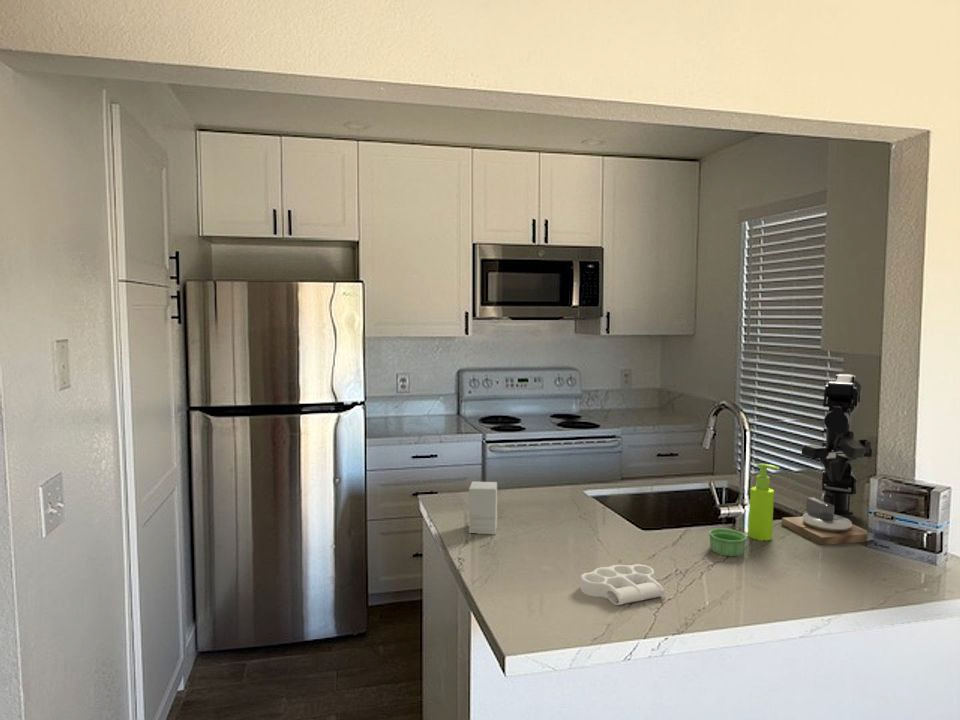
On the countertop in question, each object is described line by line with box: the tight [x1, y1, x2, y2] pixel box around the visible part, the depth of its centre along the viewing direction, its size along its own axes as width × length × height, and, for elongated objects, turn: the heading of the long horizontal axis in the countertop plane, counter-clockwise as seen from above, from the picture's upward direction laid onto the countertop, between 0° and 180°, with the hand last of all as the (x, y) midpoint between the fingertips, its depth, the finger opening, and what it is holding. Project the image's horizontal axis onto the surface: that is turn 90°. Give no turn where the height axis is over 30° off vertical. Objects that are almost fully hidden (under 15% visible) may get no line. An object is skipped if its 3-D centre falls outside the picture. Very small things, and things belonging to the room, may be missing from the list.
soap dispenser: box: [747, 462, 781, 541], centre depth 177 cm, size 6×7×20 cm
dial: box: [802, 497, 853, 532], centre depth 182 cm, size 13×12×6 cm
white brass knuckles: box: [580, 563, 666, 606], centre depth 145 cm, size 3×18×15 cm
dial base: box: [781, 515, 868, 546], centre depth 182 cm, size 16×16×2 cm
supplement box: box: [468, 480, 498, 535], centre depth 181 cm, size 7×7×13 cm
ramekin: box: [708, 527, 748, 557], centre depth 168 cm, size 9×9×4 cm
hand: (835, 480), depth 187 cm, fingers closed
